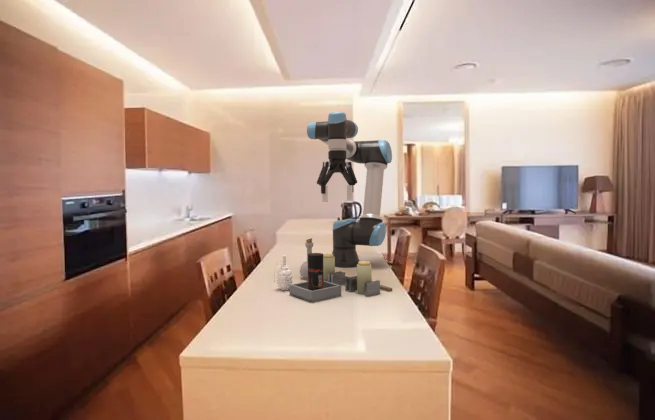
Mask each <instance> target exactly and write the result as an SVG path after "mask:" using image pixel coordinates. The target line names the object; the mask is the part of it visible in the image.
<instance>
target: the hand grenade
mask: <svg viewBox="0 0 655 420" xmlns="http://www.w3.org/2000/svg"><path fill="white" fill-rule="evenodd" d="M278 262H282V264H281V265H280V266H279V265H278V264H276V266H277V267H276V268H274V273H273V274H274V275H273V283H275V278H276V279H277V280H276V284H277V287H278V288H279V289H280V290H281V291H288V290H290V285H291V284H293V274H292V270H290V269H289V266H288V265H287V255H286V254H283V256H282V259H280V260H278ZM278 268H280V269H279V270H278V271H277V275H276V269H278Z"/></svg>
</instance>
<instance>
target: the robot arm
mask: <svg viewBox="0 0 655 420" xmlns="http://www.w3.org/2000/svg"><path fill="white" fill-rule="evenodd" d="M327 116H328V117H327V121H313V122H310V123H308V125H307V126H306V134H307V137H308V138H309V139H310V140H319V141H320V142H323V143H324V144H326V145H327V146H328V147H327V148H328V150H329V151H328V152H327V153H328V157H327V158H328V161H323V162H322V167H321V170H320V173H319V175H318V178H317V180H316V184H317V185H319V186H320V193H321V196H322V197H321V198H322V202H323V203H327V202H329V196H328V195H329V190H328V189H329V186H328V185H327V184H328V183H329V182H330V180H331V178H332V177H333V175H334V174H335V173H336V174H337V173H340V174H341V175H342V177H343V178H344V180H345V181H346V183H347V185H346V201H351V202H352V201H354V200H353V198H354V197H353V195H354V194H353V193H354V186H356V185H357V183H358V180H357V178H356V174H355V172H354V169H353V166H352V162H354V163H357V164H362V165H364V167H365V168H366V176H365V177H366V178H365V186H364V187H365V189H364V196H363V197H364V198H363V210H362V215H361V216H360V217H359V221H357V219H355V218H347V219H339V220H334V222H333V224H332V252H331V254H333V256H334V257H335V268H336V267H337V268H352V267H357V264H358V262H359V261H360V259H359V256H358V252H357V250H356V248H357V246H368V247H378V246H381V245H382V244H383V242H384V241H385V238H386V235H387V226H386V224H385V222H383V221H384V220H383V218H382V217H381V208H382V198H383V197H382V196H383V195H382V194H383V185H384V176H385V175H384V174H385V173H384V172H385V170H386V169H387V168H388V164H392V163H391V162H392V160H393V153H392V152H393V151H392V147H391V144H390V142H388V141H387V140H384V139H383V140H382V139H381V140H380V139H378V140H359V141H358V140H357V141H356V140H352V139H354V138H355V137H356V136H357V135H358V131H359V127H358V125H357V123H356V122H355V121H352V120H349V119H348V118H347V115H346V112H343V111H342V112H341V111H332V112H329V113H328V115H327ZM346 160H347V161H346Z"/></svg>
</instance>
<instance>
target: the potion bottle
mask: <svg viewBox="0 0 655 420" xmlns="http://www.w3.org/2000/svg"><path fill="white" fill-rule="evenodd" d="M305 241H306V242H304V244H305V247H306V261H304V262H302V264H301V265H300V269H299V274H300V277H302V278H301V280H305V281H308V254H309V253H313V249H312V248H313V247H314V242H313V237H311V238H308V239H306V240H305Z"/></svg>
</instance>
